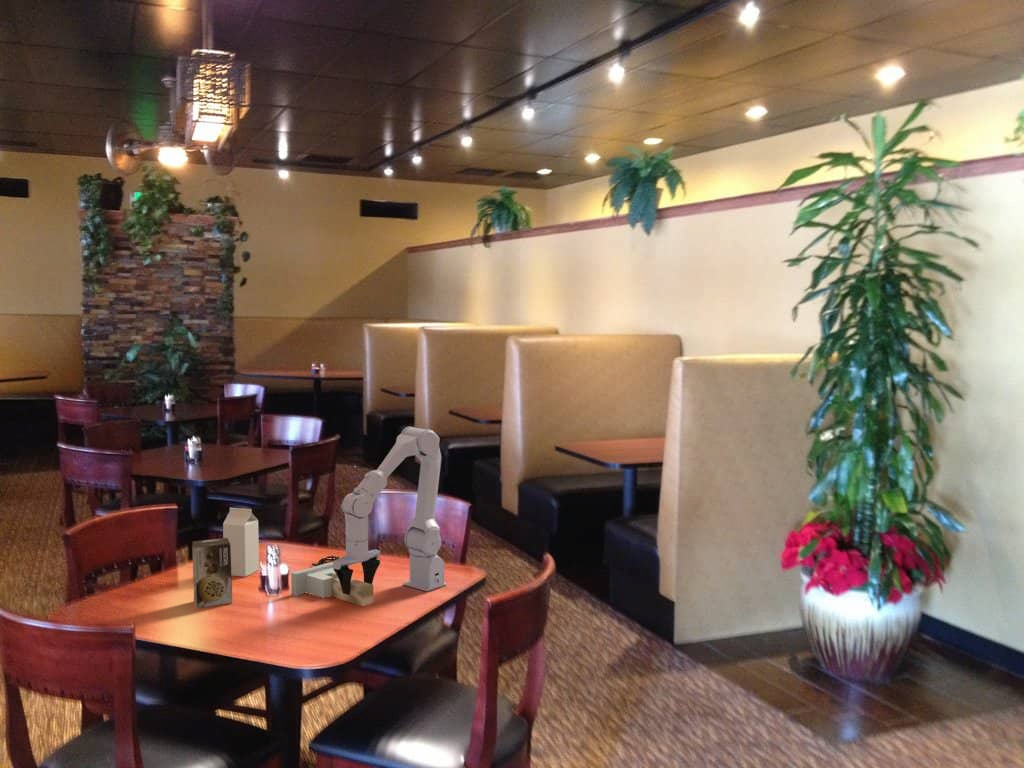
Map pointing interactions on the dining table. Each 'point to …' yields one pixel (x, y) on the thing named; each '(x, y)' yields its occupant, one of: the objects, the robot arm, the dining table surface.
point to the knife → (326, 559)
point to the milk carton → (242, 541)
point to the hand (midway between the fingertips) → (357, 590)
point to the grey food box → (212, 572)
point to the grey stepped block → (314, 580)
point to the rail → (354, 592)
